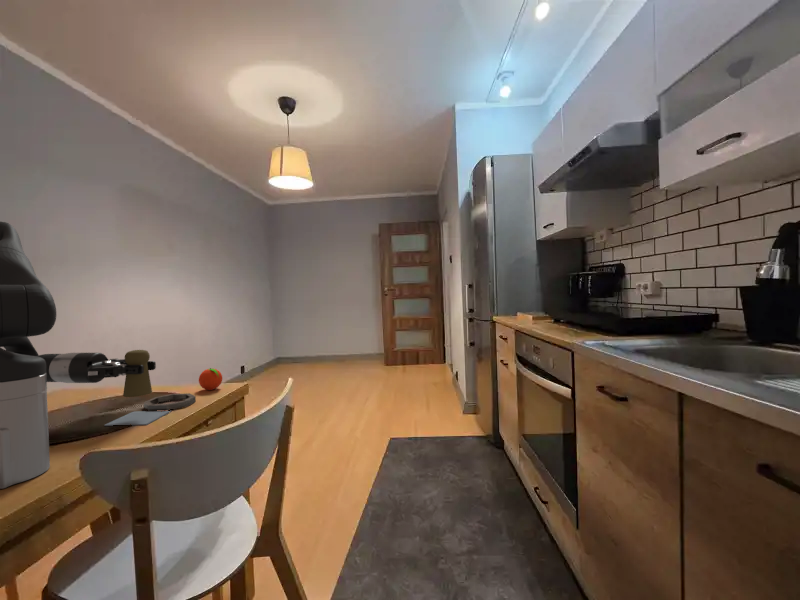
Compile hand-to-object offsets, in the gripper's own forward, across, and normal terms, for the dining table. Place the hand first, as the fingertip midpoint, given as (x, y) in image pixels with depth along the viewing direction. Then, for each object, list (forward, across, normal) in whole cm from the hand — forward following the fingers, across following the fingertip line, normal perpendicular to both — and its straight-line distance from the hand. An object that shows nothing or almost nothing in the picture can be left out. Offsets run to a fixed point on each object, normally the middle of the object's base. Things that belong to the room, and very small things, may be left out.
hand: (148, 367), depth 94 cm
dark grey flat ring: (-1, +11, +13) cm, 17 cm away
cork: (-3, 0, +7) cm, 7 cm away
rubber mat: (-2, 0, +13) cm, 13 cm away
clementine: (+3, +27, +13) cm, 30 cm away
